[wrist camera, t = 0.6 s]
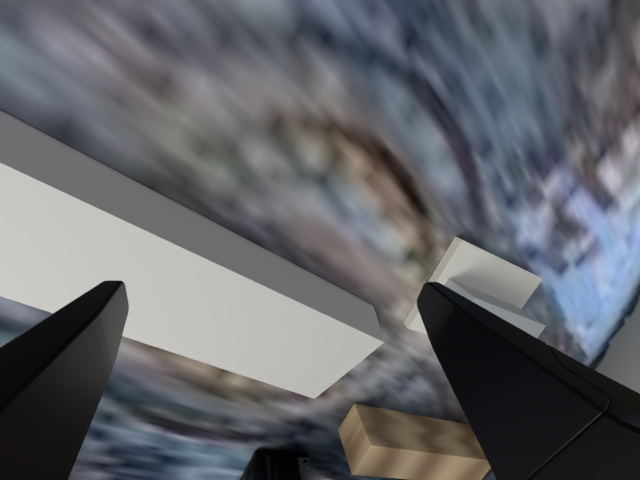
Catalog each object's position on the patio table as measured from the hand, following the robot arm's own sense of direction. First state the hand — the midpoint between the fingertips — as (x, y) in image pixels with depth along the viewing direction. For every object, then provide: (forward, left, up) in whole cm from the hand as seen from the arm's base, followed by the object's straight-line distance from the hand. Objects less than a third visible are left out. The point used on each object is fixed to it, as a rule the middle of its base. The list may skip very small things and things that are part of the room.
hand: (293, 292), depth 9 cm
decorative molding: (-9, +4, -16) cm, 19 cm away
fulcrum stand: (-2, -24, -15) cm, 28 cm away
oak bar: (-20, -27, -15) cm, 37 cm away
